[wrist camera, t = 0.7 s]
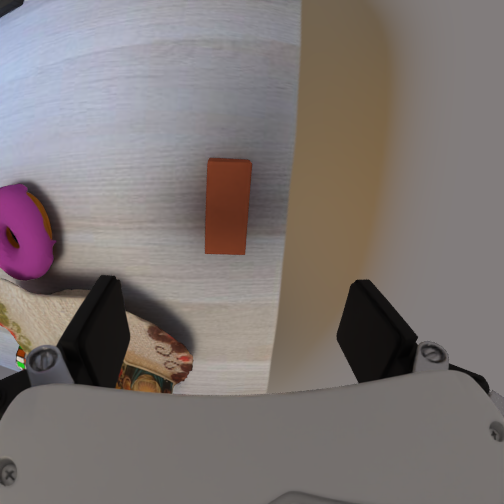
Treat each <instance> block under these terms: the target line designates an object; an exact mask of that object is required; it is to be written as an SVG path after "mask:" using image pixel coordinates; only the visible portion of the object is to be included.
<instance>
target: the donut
mask: <svg viewBox="0 0 504 504" xmlns="http://www.w3.org/2000/svg"><path fill="white" fill-rule="evenodd" d="M10 229H11V231H12V232H13V234H14V235H15V237H16V238H17V240H18V243H19V244H18V243H17V242H16V241H15V240H14V238H13V237H12V235H11V232H10ZM55 243H56V241H54V240H52V231H51V225H50V221H49V218H48V215H47V213H46V211H45V209H44V207H43V205H42V204H41V202H40V201H39V200H38V199H37V198H36V197H35V196H33V195H32V194H30V193H28V192H27V187H25V186H24V185H22V184H16V185H8V186H4V187H1V188H0V268H1V269H2V270H4V271H5V272H6V273H7V274H8V275H10V276H12V277H13V278H15V279H18V280H23V281H27V280H31V279H36V278H39V277H41V276H42V275H44V274H45V273H46V272H47V271H48V270H49V268H50V266H51V264H52V262H53V258H54V257H53V254H52V252H53V245H54V244H55Z"/></svg>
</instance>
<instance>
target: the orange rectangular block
mask: <svg viewBox="0 0 504 504" xmlns="http://www.w3.org/2000/svg"><path fill="white" fill-rule="evenodd" d="M251 171H252V163H251V162H250V161H249V160H245V159H226V158H209V160H208V164H207V187H206V219H205V254H228V255H245V249H246V236H247V223H248V209H249V196H250V184H251Z"/></svg>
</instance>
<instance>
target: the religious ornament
mask: <svg viewBox="0 0 504 504" xmlns="http://www.w3.org/2000/svg"><path fill="white" fill-rule="evenodd" d="M85 298H86V296H60V295H43V294H36V293H30V292H28V291H26V290H24V289H23V288H21V287H19V286H18V285H16V284H14V283H12V282H10V281H8V280H6V279H2V278H0V325H1V326H2V327H5V328H6V329H7V330H8V331H9V332H11V334H12V335H13V336H14V338H15V340H16V341H17V343H18V344H19V345H20V346H21V348H22V349H23V351H24V352H25V353H26V354H27V355H28V354H29V353H30V352H31V351H32V350H33V349H34V348H36V347H38V346H42V345H53V346H55V347H56V345H57V343H58V341H59V340H60V338H61V336H62V335H63V333H64V331H65V329H66V328H67V326H68V325H69V323H70V321H71V320H72V318H73V316H74V315H75V313H76V312H77V310H78V308H79V307H80V305H81V304H82V302H83V301H84V299H85ZM126 316H127V321H128V325H129V330H130V343H129V346H128V349H127V352H126V355H125V358H124V361H123V364H122V368H121V371H120V374H119V377H118V381H117V384H116V388H115V389H122V390H131V391H142V392H153V393H167V394H172V393H173V387H174V385H176V384H177V383H180V382H181V381H184V380H185V378H187V375H188V374H189V371H192V367H193V365H192V363H193V356H192V355H191V354H190V353H189V351H188V350H187V349H186V347H185V346H184V345H183V344H182V343H179V342H178V341H177V340H175V339H174V338H173V337H171V336H170V335H169V334H167V333H166V332H165V331H163V330H162V329H160V328H159V327H158V326H156V325H155V324H153V323H151V322H148V321H146V320H144V319H142V318H140V317H137V316H135V315H133V314H131V313H129V312H127V311H126Z"/></svg>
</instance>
